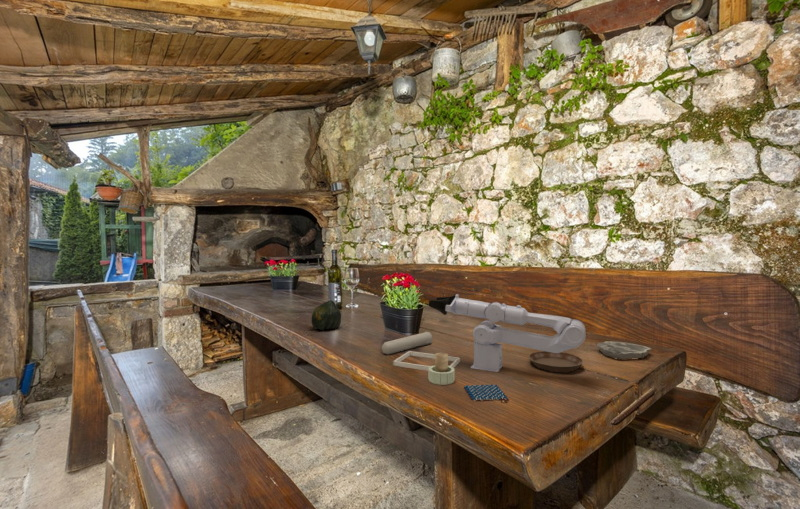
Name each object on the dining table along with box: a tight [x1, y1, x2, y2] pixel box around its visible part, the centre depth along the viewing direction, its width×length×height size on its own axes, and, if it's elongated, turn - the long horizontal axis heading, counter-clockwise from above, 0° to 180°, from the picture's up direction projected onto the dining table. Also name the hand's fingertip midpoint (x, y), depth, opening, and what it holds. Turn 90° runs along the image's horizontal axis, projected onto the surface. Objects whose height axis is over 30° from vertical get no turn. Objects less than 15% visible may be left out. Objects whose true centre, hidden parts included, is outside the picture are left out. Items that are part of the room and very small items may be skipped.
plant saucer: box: [528, 350, 584, 373], centre depth 137 cm, size 18×18×3 cm
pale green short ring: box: [427, 364, 456, 386], centre depth 121 cm, size 8×8×4 cm
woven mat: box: [463, 384, 510, 404], centre depth 110 cm, size 10×11×2 cm
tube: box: [381, 331, 433, 356], centre depth 158 cm, size 5×5×25 cm
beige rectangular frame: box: [392, 350, 461, 372], centre depth 137 cm, size 20×14×2 cm
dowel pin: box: [434, 352, 449, 372], centre depth 121 cm, size 4×4×8 cm
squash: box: [311, 300, 342, 331], centre depth 193 cm, size 14×15×15 cm
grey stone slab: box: [595, 340, 652, 360], centre depth 151 cm, size 20×17×3 cm
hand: (433, 301), depth 142 cm, fingers open, 7 cm apart
